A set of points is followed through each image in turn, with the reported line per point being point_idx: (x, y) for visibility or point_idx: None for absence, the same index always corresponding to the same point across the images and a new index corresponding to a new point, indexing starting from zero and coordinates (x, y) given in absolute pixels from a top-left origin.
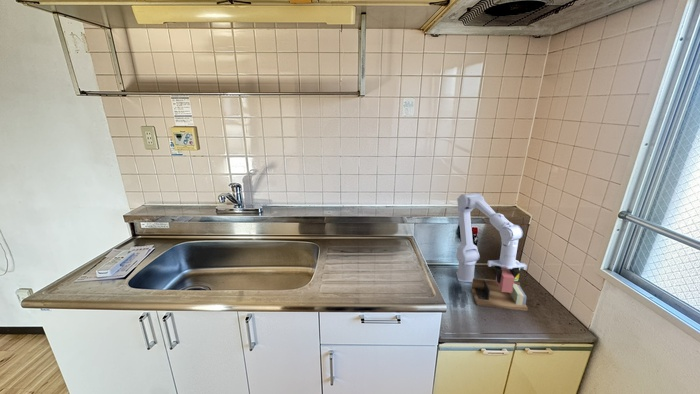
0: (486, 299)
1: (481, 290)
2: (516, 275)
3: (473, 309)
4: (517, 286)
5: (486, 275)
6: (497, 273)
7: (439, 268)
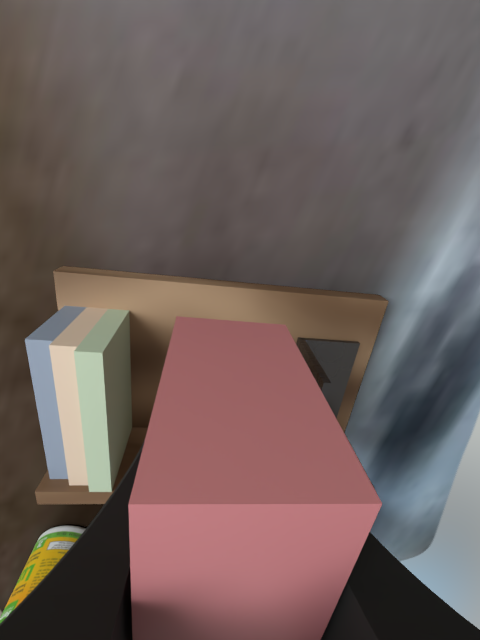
0: (313, 339)
1: None
2: (41, 590)
3: (422, 249)
4: (69, 458)
5: None
6: (419, 583)
7: (407, 555)
